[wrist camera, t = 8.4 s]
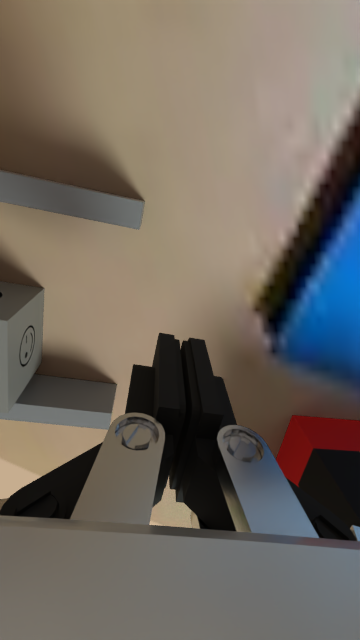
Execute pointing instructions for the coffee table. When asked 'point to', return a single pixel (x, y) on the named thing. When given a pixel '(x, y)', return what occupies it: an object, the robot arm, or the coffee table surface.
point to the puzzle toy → (325, 462)
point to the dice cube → (19, 339)
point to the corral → (56, 392)
